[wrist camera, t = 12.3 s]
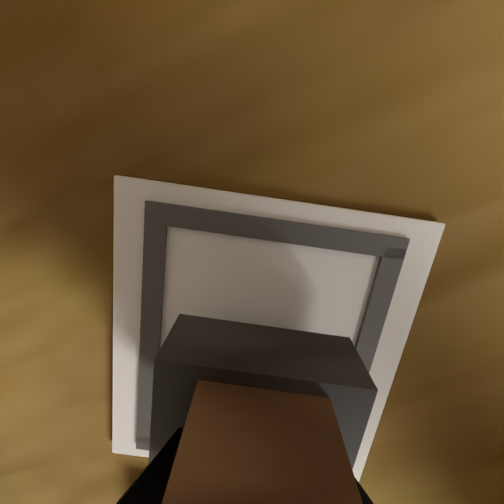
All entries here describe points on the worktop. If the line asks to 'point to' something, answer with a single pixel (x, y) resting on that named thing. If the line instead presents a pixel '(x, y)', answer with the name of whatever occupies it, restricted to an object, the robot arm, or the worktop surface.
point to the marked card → (257, 282)
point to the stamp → (259, 413)
